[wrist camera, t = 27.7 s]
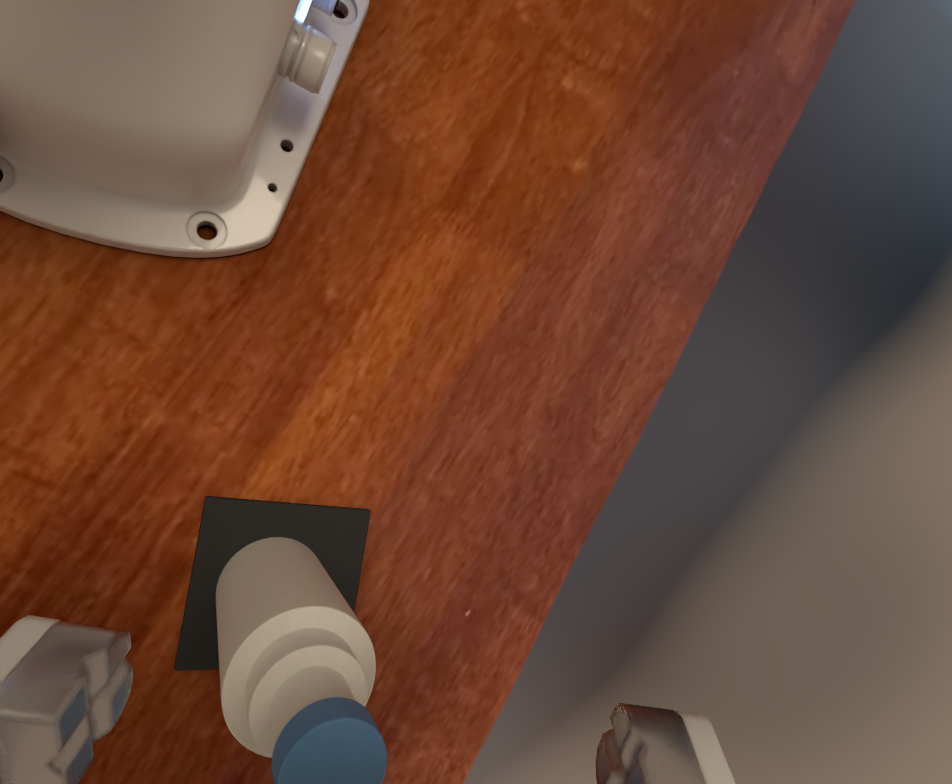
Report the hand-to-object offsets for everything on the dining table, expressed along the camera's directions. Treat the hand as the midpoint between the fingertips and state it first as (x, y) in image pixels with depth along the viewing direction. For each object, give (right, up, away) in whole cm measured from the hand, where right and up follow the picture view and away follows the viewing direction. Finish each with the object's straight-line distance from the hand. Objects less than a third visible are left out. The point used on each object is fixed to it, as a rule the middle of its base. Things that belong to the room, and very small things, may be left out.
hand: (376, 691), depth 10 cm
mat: (-8, -4, +19) cm, 21 cm away
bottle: (-8, -5, +18) cm, 21 cm away
